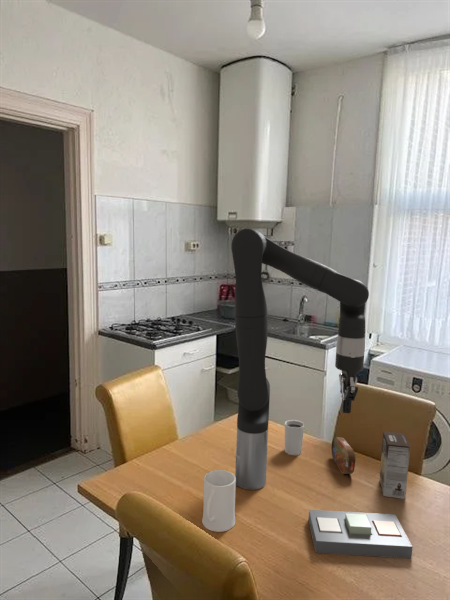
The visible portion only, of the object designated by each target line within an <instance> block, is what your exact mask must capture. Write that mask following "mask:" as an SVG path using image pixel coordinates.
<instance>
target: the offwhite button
mask: <svg viewBox="0 0 450 600" xmlns="http://www.w3.org/2000/svg"><path fill="white" fill-rule="evenodd" d="M317 525H318V529H319V532H325V533H341V529H340V526H339V523H338V520H337V518H320V517H317Z"/></svg>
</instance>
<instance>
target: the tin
mask: <svg viewBox="0 0 450 600" xmlns="http://www.w3.org/2000/svg"><path fill="white" fill-rule="evenodd" d="M331 458H332V460H333V462H334V463H335V465H336V466H337V468H338V469H339V471H340V473H342V474H343V475H351V474H353V473H354V472H355V467H356V453H355V451H354V448H352V447H351V445H350V443H348V441H347V440H346V439H345V438H344V437H341V436H340V437H339V436H334V437H333V439H332V442H331Z"/></svg>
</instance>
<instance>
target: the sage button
mask: <svg viewBox="0 0 450 600" xmlns="http://www.w3.org/2000/svg"><path fill="white" fill-rule="evenodd" d="M345 524H346V527H347V530H348V533H349V534H359V535H371V525H370V523H369V521H368V518H367V516H366V514H348V513H346V515H345Z"/></svg>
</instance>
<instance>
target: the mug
mask: <svg viewBox="0 0 450 600" xmlns="http://www.w3.org/2000/svg"><path fill="white" fill-rule="evenodd" d="M236 487H237V486H236V477H235V473H234V472H233V473H232V471H228V470H224V469H215V470H211V471H208V472H207V473H206V474H205V475H204V477H203V509H202V510H203V511H202V512H203V513H202V514H203V515H202V518H201V519H202V521H201V522H202V525H203V526H204V528H205V529H207V530H209V531H212V532H215V533H216V532H217V533H222V532H226V531H230V530H231V529H232V528H234V526H235V524H236V517H235V515H236V514H235V513H236Z"/></svg>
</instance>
